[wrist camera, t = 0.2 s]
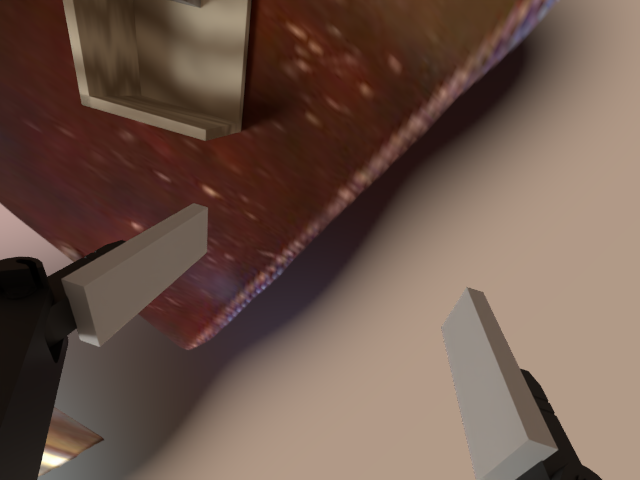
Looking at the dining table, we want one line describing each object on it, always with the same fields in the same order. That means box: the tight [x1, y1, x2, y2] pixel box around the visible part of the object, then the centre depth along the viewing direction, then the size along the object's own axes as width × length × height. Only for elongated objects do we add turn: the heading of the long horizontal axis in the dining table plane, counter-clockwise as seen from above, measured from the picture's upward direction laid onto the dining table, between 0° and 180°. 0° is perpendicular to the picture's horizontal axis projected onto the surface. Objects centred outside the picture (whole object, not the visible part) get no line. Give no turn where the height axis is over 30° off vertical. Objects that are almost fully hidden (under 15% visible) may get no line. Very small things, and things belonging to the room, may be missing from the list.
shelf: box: [63, 0, 252, 141], centre depth 32 cm, size 20×16×9 cm
